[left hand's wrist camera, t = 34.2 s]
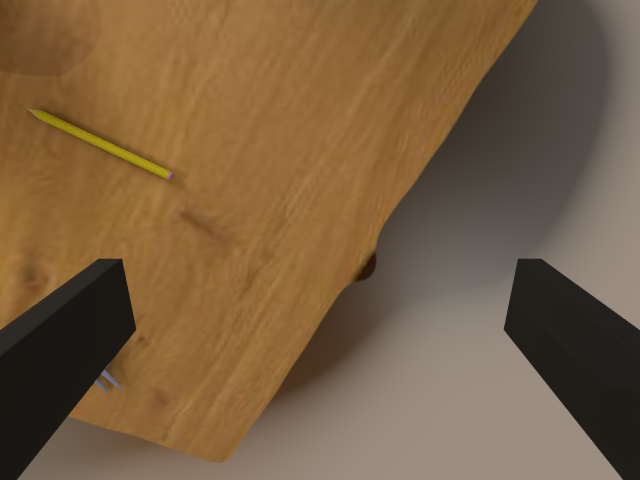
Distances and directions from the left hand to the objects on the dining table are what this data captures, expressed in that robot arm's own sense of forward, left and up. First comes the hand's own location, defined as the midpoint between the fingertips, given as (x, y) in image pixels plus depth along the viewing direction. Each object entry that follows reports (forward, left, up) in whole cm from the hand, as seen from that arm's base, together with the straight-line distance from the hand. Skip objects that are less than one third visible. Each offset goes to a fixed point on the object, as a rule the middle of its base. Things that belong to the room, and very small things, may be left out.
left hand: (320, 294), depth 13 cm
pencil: (-14, +20, -33) cm, 41 cm away
